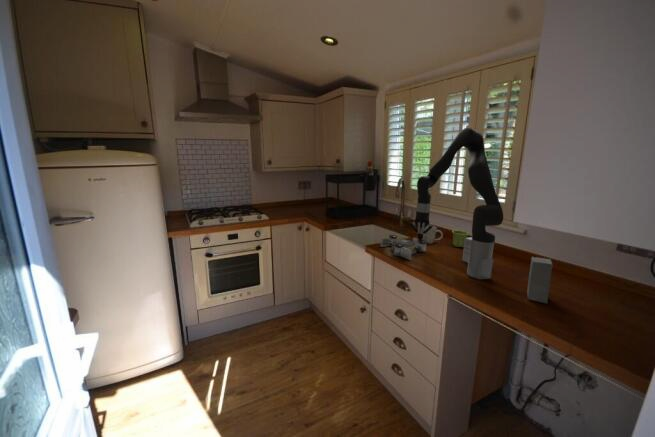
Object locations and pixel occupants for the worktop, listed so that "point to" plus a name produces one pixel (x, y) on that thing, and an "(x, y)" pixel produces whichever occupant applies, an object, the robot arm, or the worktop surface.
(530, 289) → the skincare box
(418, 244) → the footscrew right
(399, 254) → the footscrew left
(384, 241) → the footscrew far
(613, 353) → the worktop surface
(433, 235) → the mug
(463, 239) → the plant pot
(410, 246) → the level instrument
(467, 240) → the supplement box
